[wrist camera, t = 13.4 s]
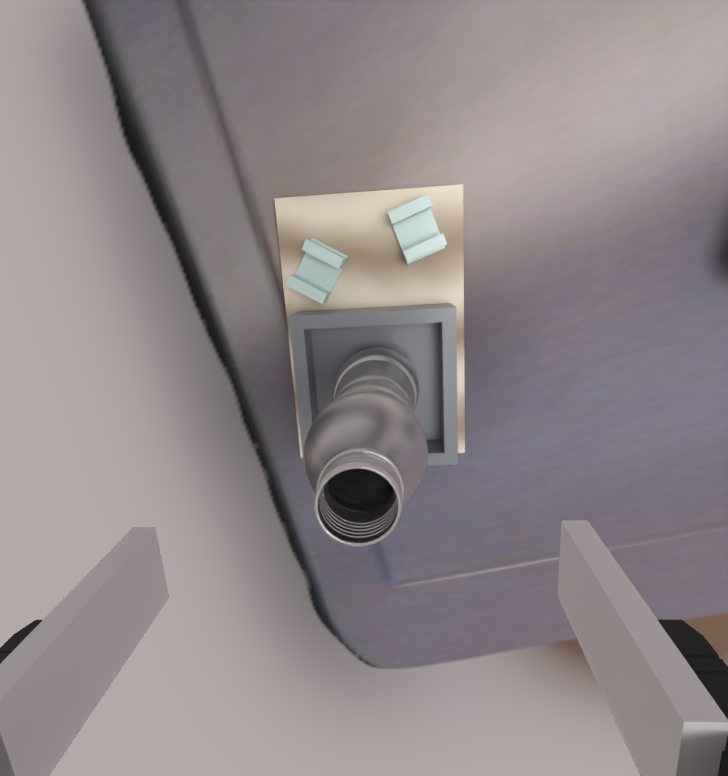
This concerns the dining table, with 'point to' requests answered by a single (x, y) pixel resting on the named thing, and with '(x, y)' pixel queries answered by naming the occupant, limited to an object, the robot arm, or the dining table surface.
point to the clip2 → (317, 270)
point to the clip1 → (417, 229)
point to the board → (377, 258)
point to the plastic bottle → (366, 448)
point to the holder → (387, 330)
